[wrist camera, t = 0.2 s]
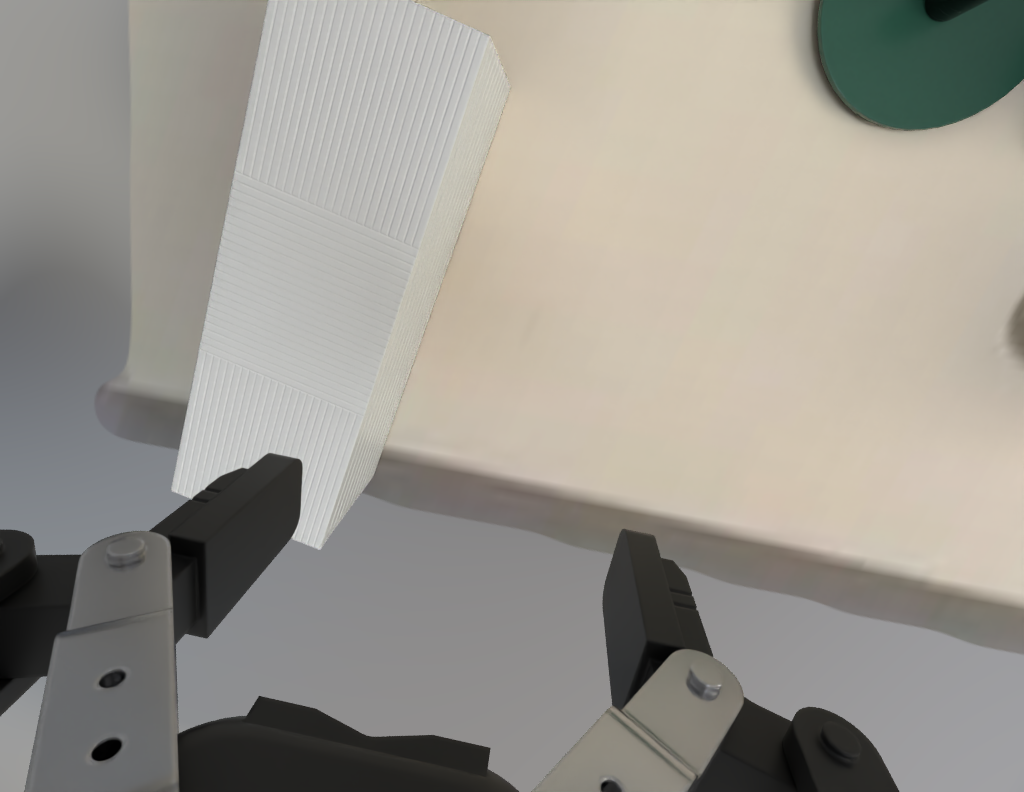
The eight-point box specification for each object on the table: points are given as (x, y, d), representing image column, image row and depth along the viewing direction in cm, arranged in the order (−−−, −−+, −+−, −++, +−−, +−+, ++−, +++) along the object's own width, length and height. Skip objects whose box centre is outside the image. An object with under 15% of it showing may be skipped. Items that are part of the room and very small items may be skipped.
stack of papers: (373, 476, 46) (319, 550, 36) (258, 429, 45) (170, 491, 35) (511, 87, 35) (490, 35, 25) (362, 21, 35) (279, -60, 25)
